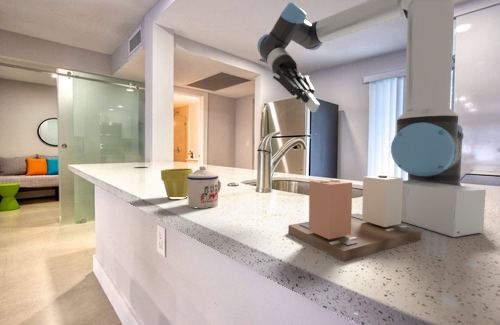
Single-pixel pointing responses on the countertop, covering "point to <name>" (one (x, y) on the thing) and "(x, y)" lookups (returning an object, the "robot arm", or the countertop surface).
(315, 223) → the tall salmon pillar
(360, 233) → the walnut track board
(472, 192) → the supplement box
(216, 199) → the teacup with lid
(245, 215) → the countertop surface
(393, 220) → the tall white pillar
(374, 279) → the countertop surface
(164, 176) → the plant pot
